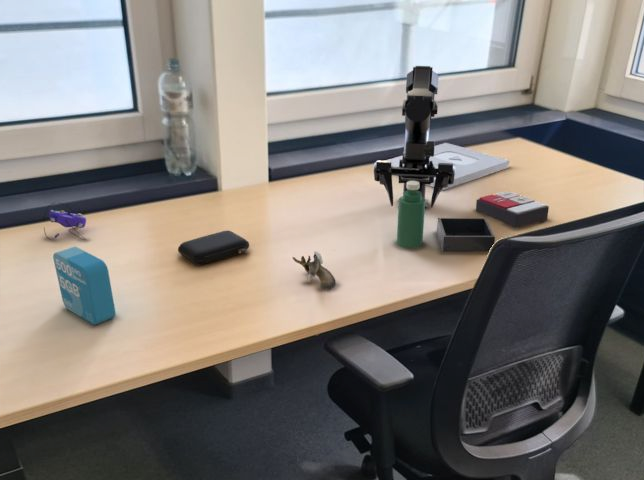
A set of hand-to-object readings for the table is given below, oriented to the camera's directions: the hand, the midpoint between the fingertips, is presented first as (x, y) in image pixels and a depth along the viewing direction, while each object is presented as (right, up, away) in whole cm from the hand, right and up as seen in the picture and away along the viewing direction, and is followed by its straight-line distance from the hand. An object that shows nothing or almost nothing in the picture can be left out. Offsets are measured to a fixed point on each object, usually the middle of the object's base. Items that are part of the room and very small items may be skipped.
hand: (411, 206), depth 174 cm
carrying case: (-45, -12, -4) cm, 47 cm away
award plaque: (+14, +22, +49) cm, 56 cm away
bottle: (0, -9, +1) cm, 9 cm away
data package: (-66, -27, -27) cm, 76 cm away
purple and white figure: (-81, -6, +5) cm, 81 cm away
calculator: (+27, +1, +17) cm, 32 cm away
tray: (+13, -8, +2) cm, 15 cm away
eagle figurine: (-22, -20, -15) cm, 33 cm away
